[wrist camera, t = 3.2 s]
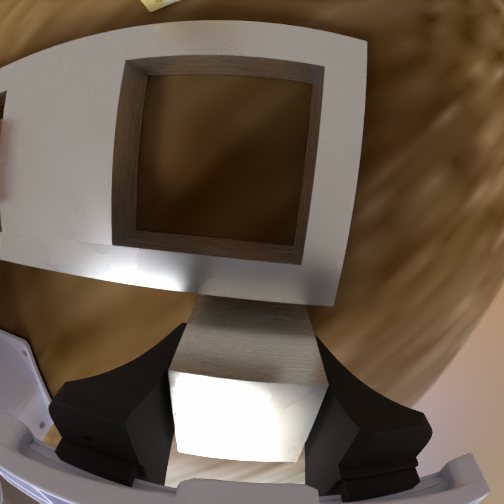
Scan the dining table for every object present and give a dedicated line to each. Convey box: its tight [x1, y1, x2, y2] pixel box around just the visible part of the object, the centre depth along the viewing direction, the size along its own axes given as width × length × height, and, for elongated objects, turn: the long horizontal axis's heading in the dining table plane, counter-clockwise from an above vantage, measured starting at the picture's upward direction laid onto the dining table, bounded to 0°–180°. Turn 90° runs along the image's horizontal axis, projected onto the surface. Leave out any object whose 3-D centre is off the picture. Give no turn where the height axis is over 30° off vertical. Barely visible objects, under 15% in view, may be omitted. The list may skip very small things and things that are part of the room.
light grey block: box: [168, 294, 328, 462], centre depth 11 cm, size 4×4×6 cm
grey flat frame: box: [0, 20, 367, 306], centre depth 10 cm, size 10×24×2 cm, turn 84°
